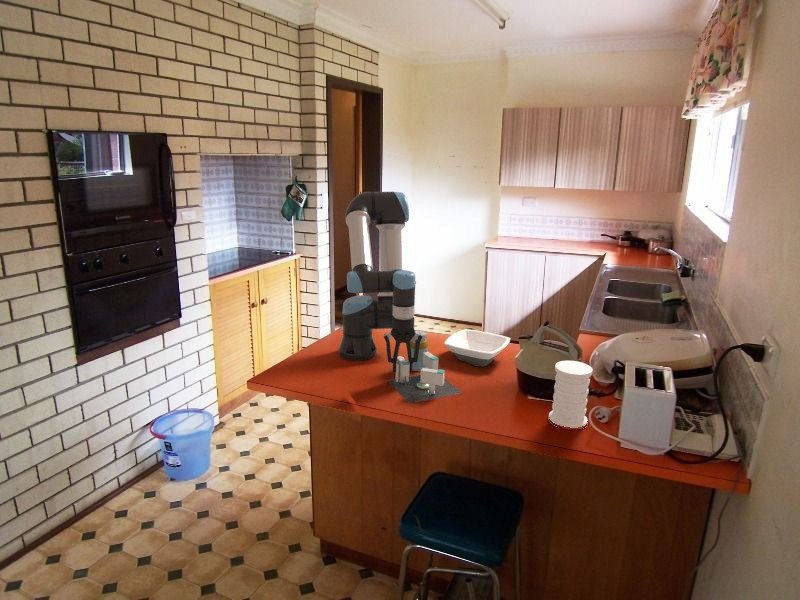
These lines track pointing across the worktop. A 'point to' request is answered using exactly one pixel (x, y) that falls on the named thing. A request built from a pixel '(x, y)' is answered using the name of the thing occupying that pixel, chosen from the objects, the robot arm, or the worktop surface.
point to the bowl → (476, 346)
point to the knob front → (432, 378)
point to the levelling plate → (422, 389)
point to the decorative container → (570, 394)
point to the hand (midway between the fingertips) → (402, 380)
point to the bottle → (422, 348)
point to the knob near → (403, 368)
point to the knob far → (430, 361)
